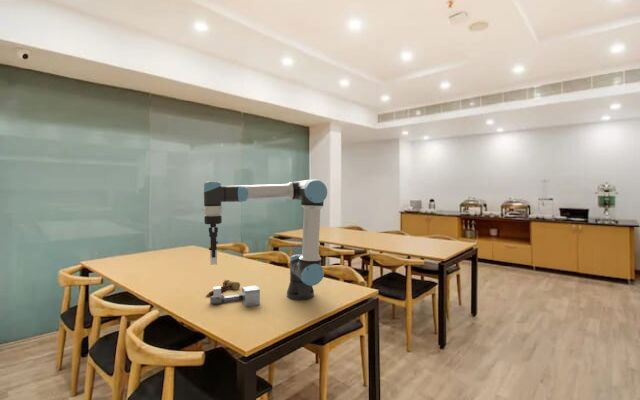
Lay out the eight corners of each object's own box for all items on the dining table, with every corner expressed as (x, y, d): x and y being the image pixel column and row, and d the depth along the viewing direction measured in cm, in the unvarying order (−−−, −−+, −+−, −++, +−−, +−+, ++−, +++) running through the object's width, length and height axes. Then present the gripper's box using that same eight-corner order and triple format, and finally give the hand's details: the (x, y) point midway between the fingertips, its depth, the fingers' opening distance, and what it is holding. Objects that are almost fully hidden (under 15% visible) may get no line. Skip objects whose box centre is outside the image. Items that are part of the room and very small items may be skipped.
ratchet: (251, 295, 180) (251, 281, 180) (254, 299, 174) (254, 285, 173) (209, 301, 171) (209, 286, 170) (211, 305, 164) (210, 290, 164)
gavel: (212, 293, 174) (199, 290, 179) (212, 301, 175) (200, 298, 180) (240, 281, 192) (228, 278, 197) (240, 288, 193) (228, 285, 198)
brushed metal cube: (256, 299, 173) (256, 285, 173) (259, 304, 166) (259, 289, 166) (242, 301, 170) (242, 286, 170) (245, 306, 163) (245, 291, 163)
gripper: (205, 213, 158) (205, 255, 159) (203, 218, 135) (204, 268, 136) (221, 212, 161) (221, 254, 162) (222, 217, 137) (223, 266, 138)
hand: (213, 261), depth 149 cm, fingers open, 13 cm apart
